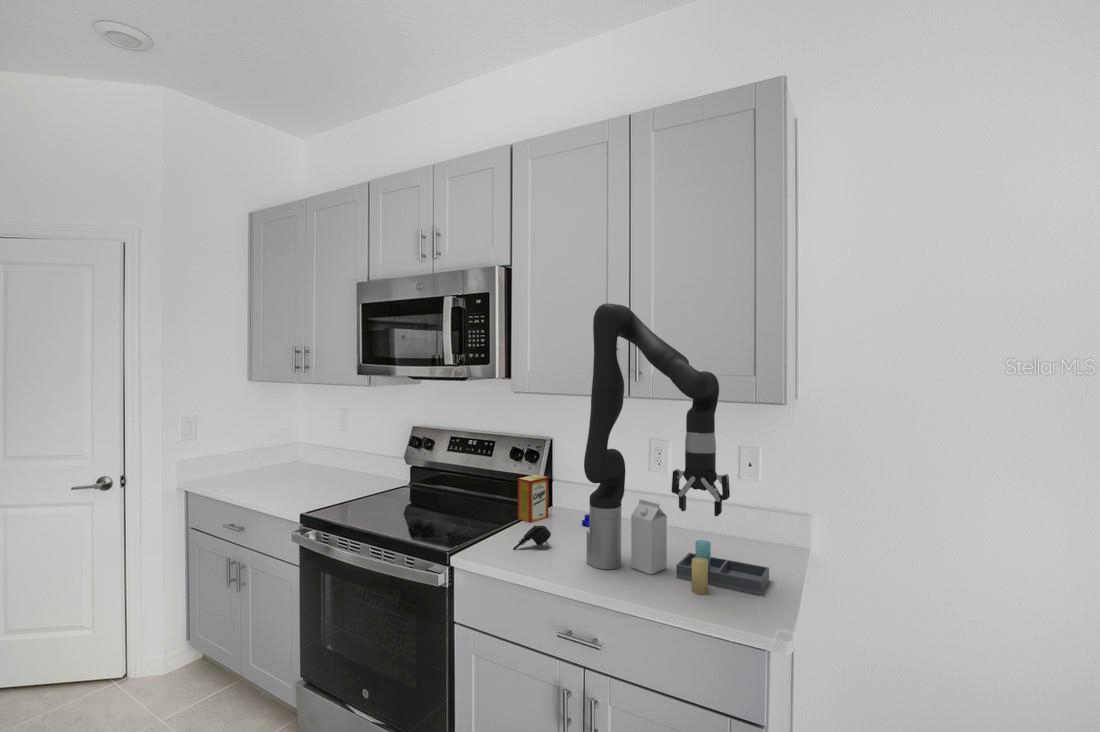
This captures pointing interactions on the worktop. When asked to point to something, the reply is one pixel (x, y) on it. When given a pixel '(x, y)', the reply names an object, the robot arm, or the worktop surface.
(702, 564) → the tan rounded cylinder
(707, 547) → the teal rounded cylinder
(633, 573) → the worktop surface
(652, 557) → the milk carton
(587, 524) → the cable holder
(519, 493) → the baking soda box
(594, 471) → the robot arm
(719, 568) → the grey divided tray
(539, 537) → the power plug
